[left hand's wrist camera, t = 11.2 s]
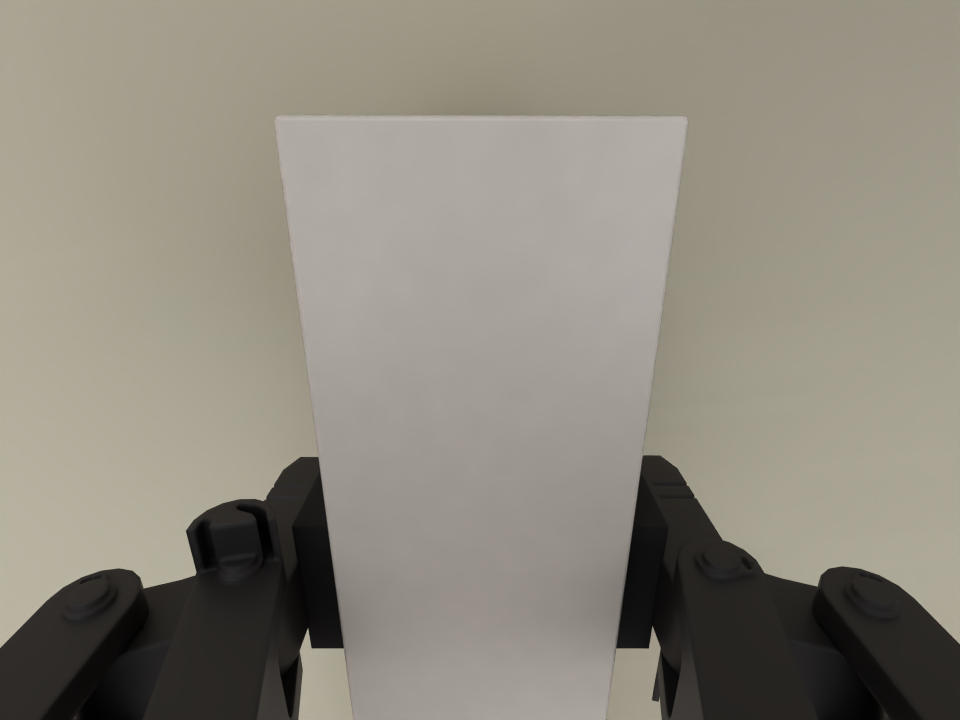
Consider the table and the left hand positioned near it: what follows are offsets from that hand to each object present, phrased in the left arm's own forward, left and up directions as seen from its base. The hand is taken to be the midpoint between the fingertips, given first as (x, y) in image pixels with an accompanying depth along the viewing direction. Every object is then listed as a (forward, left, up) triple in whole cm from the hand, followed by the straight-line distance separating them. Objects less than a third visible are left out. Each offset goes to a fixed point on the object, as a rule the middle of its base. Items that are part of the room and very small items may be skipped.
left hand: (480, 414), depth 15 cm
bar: (+28, +6, -1) cm, 28 cm away
